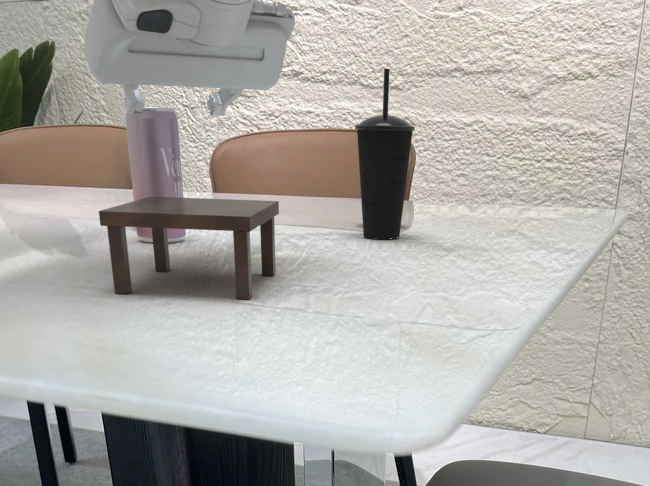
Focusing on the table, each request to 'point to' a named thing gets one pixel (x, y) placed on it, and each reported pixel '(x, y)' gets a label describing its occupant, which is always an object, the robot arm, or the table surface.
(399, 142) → the drinking cup
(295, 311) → the table surface
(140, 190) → the beverage can
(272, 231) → the side table
